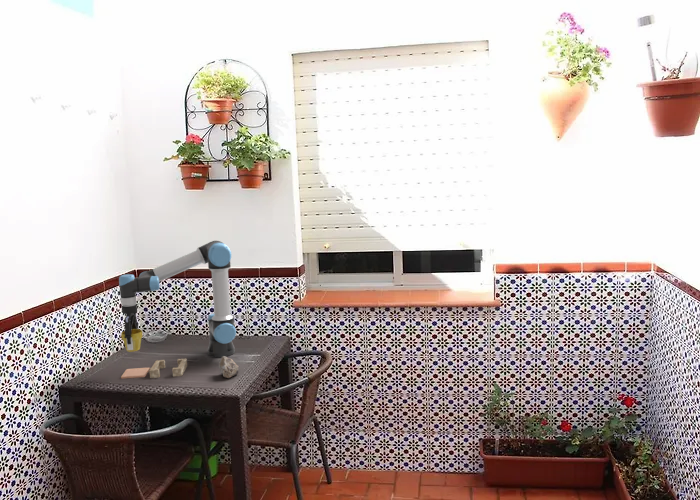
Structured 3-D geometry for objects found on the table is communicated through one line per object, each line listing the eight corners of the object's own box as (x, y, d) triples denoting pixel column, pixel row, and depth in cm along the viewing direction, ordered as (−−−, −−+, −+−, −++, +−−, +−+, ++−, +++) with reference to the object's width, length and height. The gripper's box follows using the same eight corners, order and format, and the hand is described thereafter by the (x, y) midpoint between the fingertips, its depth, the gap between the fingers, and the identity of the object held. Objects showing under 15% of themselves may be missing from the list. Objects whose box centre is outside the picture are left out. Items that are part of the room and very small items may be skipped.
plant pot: (137, 353, 334) (135, 334, 333) (118, 352, 336) (117, 334, 335) (147, 347, 344) (145, 329, 343) (129, 346, 346) (127, 328, 345)
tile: (150, 369, 349) (150, 367, 349) (144, 377, 337) (144, 375, 337) (127, 370, 348) (127, 368, 348) (121, 378, 336) (120, 376, 336)
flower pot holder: (187, 365, 352) (186, 358, 351) (181, 376, 336) (181, 368, 336) (156, 367, 351) (156, 360, 350) (150, 378, 335) (149, 370, 335)
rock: (226, 385, 328) (238, 370, 327) (209, 370, 329) (221, 355, 328) (232, 381, 337) (244, 366, 336) (215, 366, 338) (226, 351, 337)
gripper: (127, 300, 348) (131, 340, 351) (115, 310, 325) (119, 353, 329) (141, 299, 348) (145, 339, 352) (130, 309, 326) (134, 352, 329)
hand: (133, 346), depth 340 cm, fingers closed on plant pot, 10 cm apart
